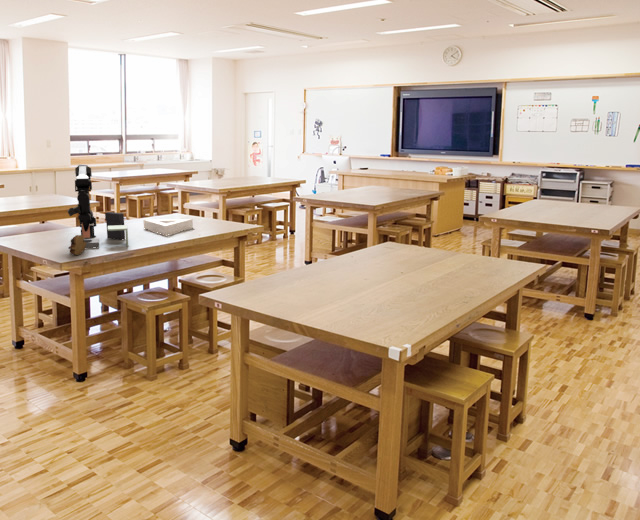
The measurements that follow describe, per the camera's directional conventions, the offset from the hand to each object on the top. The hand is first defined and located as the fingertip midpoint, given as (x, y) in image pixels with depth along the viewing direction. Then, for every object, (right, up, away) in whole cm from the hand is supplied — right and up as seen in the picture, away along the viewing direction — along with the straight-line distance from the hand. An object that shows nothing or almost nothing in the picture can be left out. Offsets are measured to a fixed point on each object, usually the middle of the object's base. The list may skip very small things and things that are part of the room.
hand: (86, 230), depth 334 cm
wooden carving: (+3, -13, -19) cm, 23 cm away
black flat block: (+8, -4, +24) cm, 26 cm away
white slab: (+34, +2, +55) cm, 65 cm away
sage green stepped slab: (+15, -7, +7) cm, 18 cm away
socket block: (0, -8, +2) cm, 9 cm away
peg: (0, -3, +1) cm, 4 cm away
